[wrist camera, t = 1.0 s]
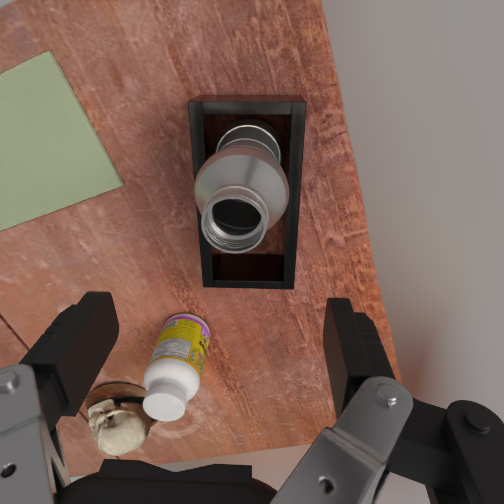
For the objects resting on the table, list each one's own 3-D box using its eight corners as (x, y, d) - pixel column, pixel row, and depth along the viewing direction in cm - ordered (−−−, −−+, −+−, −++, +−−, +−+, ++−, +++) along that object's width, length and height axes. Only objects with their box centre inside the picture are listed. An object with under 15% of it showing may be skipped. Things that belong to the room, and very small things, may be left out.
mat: (51, 50, 34) (47, 50, 33) (124, 184, 40) (122, 186, 39) (-116, 130, 38) (-121, 131, 38) (-27, 239, 45) (-30, 242, 44)
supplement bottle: (207, 350, 52) (189, 432, 41) (162, 342, 51) (132, 422, 40) (214, 315, 49) (196, 393, 37) (166, 306, 48) (134, 382, 37)
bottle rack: (200, 94, 35) (187, 101, 30) (301, 95, 35) (306, 101, 29) (211, 260, 44) (203, 287, 39) (291, 261, 44) (293, 289, 39)
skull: (93, 436, 61) (60, 455, 51) (104, 373, 64) (75, 380, 54) (161, 443, 61) (141, 464, 51) (170, 380, 63) (152, 388, 53)
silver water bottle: (217, 113, 36) (167, 167, 18) (284, 115, 36) (298, 171, 18) (219, 175, 39) (177, 272, 21) (280, 177, 39) (289, 276, 21)
